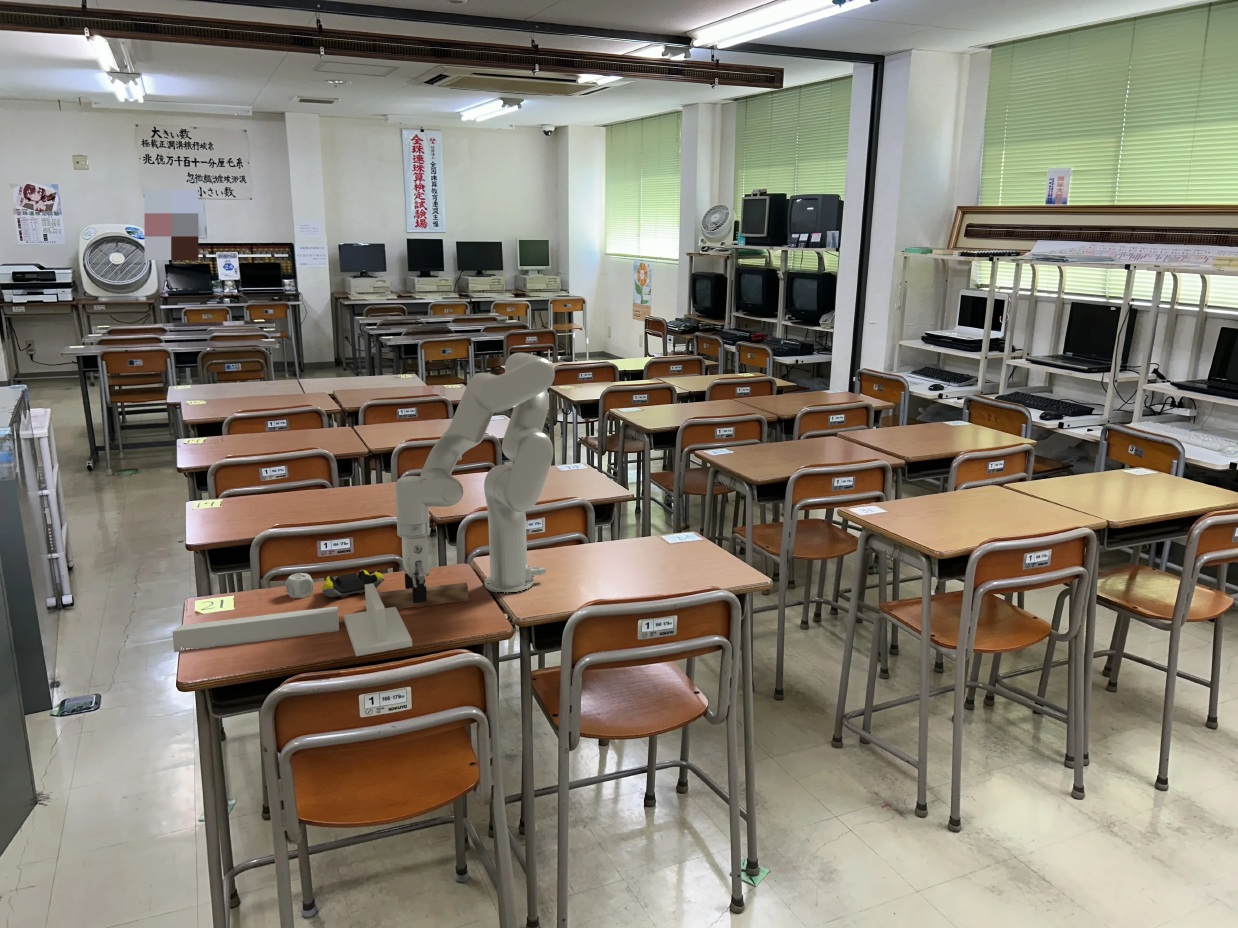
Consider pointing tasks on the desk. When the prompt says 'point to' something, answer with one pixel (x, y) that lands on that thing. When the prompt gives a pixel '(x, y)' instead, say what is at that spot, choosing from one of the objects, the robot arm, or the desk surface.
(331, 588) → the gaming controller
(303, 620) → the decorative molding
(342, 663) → the desk surface
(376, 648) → the stand
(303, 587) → the die
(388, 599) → the walnut batten
